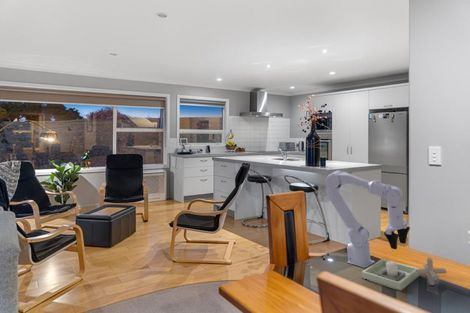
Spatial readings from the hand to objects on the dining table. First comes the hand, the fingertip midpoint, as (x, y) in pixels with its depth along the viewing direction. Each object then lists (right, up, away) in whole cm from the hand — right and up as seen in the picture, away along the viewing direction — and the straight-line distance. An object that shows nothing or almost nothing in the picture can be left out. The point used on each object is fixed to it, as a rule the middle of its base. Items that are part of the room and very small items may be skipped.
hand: (398, 245), depth 139 cm
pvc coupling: (-6, -11, -8) cm, 15 cm away
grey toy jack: (+5, -11, -15) cm, 19 cm away
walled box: (-6, -11, -6) cm, 14 cm away
